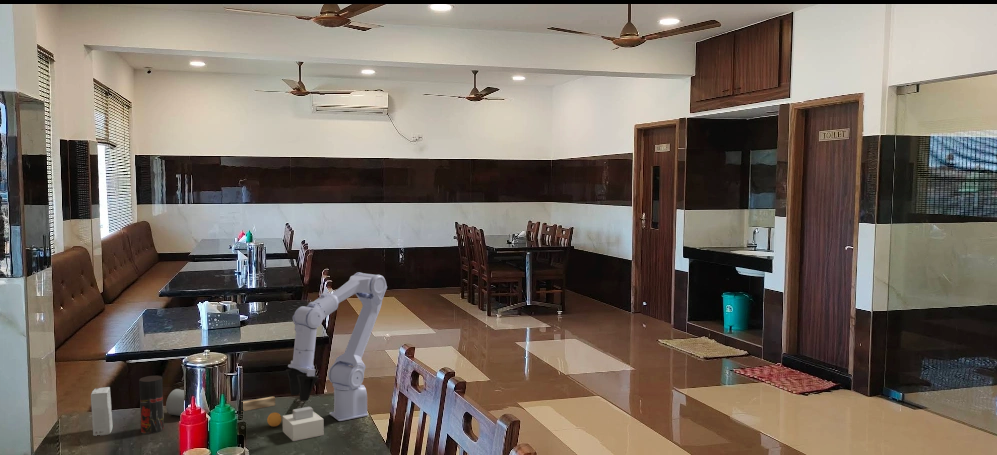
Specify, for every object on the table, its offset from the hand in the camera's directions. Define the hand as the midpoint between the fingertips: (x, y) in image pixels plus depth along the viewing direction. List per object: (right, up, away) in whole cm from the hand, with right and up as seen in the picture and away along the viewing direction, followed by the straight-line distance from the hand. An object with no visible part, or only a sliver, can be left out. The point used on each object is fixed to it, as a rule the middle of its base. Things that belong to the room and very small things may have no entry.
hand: (299, 397), depth 209 cm
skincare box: (-56, -10, +1) cm, 57 cm away
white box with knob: (+1, -10, +1) cm, 10 cm away
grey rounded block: (-39, -9, +17) cm, 43 cm away
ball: (-9, -8, +6) cm, 13 cm away
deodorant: (-43, -10, +3) cm, 44 cm away
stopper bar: (-20, -8, +22) cm, 31 cm away
